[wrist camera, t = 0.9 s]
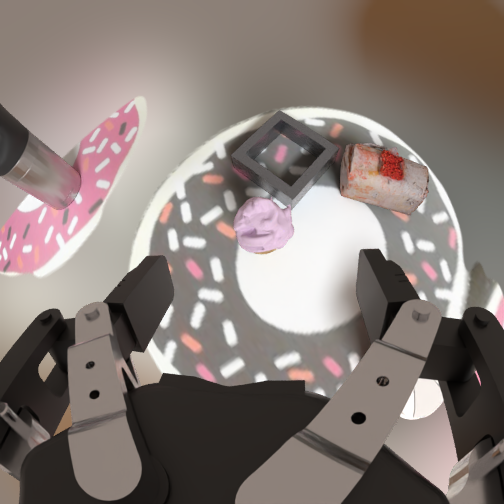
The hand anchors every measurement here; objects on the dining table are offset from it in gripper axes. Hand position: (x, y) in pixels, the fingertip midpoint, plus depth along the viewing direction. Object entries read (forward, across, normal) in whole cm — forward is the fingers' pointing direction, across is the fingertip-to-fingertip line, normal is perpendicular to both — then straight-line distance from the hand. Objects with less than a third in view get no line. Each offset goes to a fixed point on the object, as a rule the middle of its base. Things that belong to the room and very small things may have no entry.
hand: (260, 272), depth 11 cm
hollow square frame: (+38, -1, +1) cm, 38 cm away
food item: (+36, -16, +6) cm, 39 cm away
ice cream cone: (+28, +2, +13) cm, 31 cm away
